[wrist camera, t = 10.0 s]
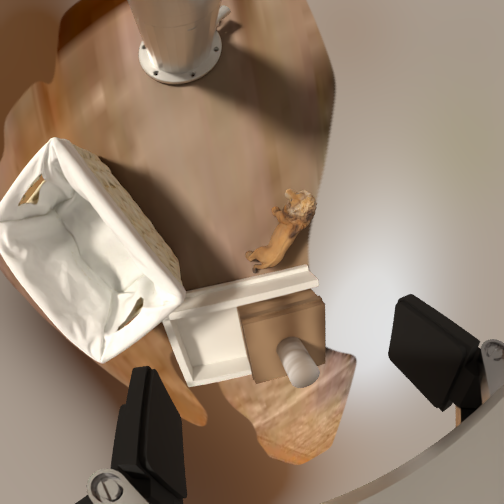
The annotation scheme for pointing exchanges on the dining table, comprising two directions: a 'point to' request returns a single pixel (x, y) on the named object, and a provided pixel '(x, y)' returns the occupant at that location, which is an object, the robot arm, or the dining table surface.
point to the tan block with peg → (285, 337)
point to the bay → (224, 323)
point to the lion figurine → (285, 228)
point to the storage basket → (87, 251)
